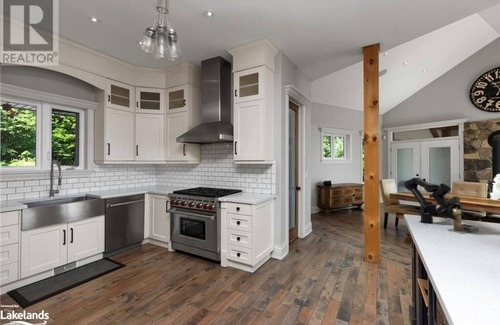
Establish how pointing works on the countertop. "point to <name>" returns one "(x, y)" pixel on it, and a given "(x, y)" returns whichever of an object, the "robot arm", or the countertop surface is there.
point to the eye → (470, 228)
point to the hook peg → (457, 220)
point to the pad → (458, 231)
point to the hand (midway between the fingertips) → (460, 218)
